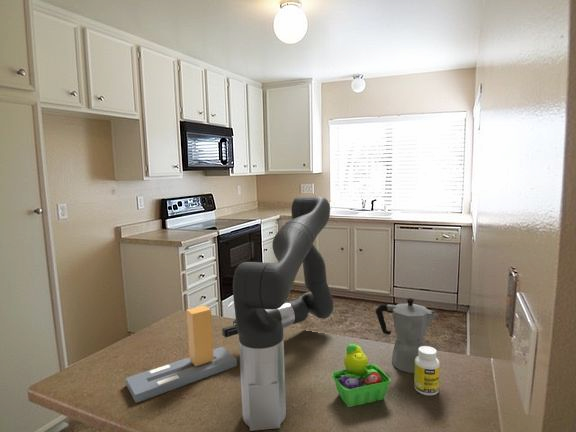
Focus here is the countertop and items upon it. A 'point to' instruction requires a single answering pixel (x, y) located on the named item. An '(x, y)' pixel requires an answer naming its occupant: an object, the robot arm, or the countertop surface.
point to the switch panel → (177, 375)
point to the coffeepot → (406, 331)
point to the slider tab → (200, 335)
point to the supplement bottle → (427, 371)
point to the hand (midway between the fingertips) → (223, 333)
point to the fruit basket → (360, 379)
